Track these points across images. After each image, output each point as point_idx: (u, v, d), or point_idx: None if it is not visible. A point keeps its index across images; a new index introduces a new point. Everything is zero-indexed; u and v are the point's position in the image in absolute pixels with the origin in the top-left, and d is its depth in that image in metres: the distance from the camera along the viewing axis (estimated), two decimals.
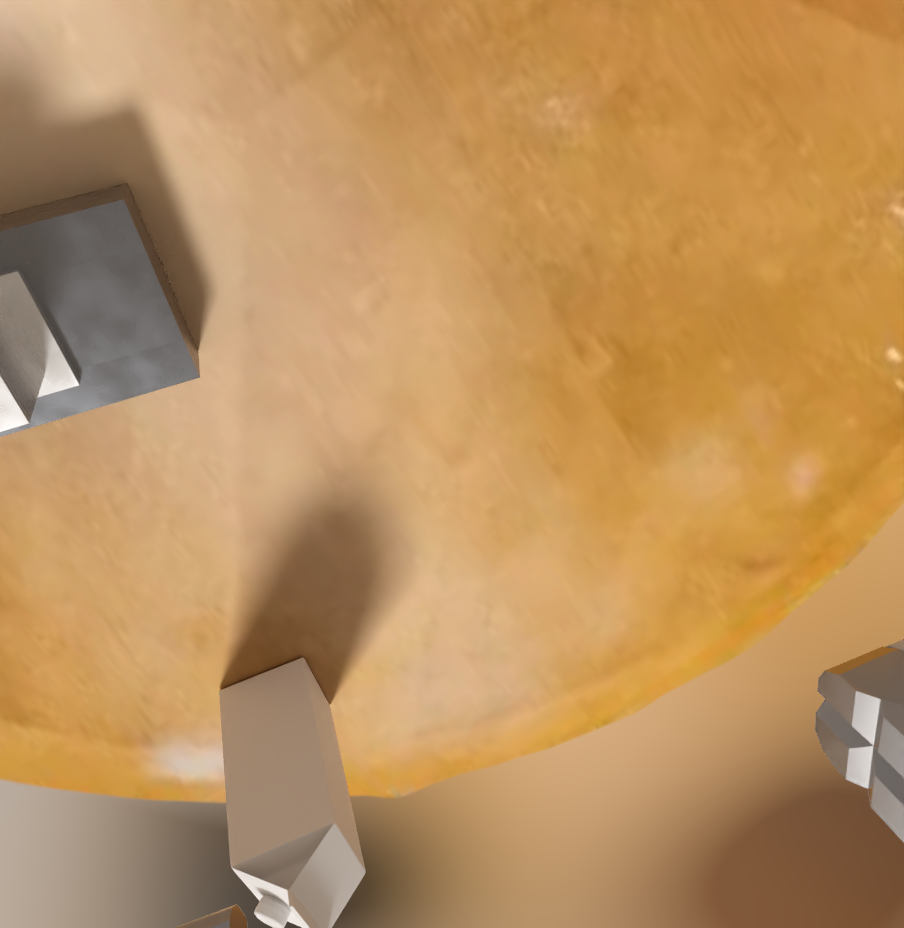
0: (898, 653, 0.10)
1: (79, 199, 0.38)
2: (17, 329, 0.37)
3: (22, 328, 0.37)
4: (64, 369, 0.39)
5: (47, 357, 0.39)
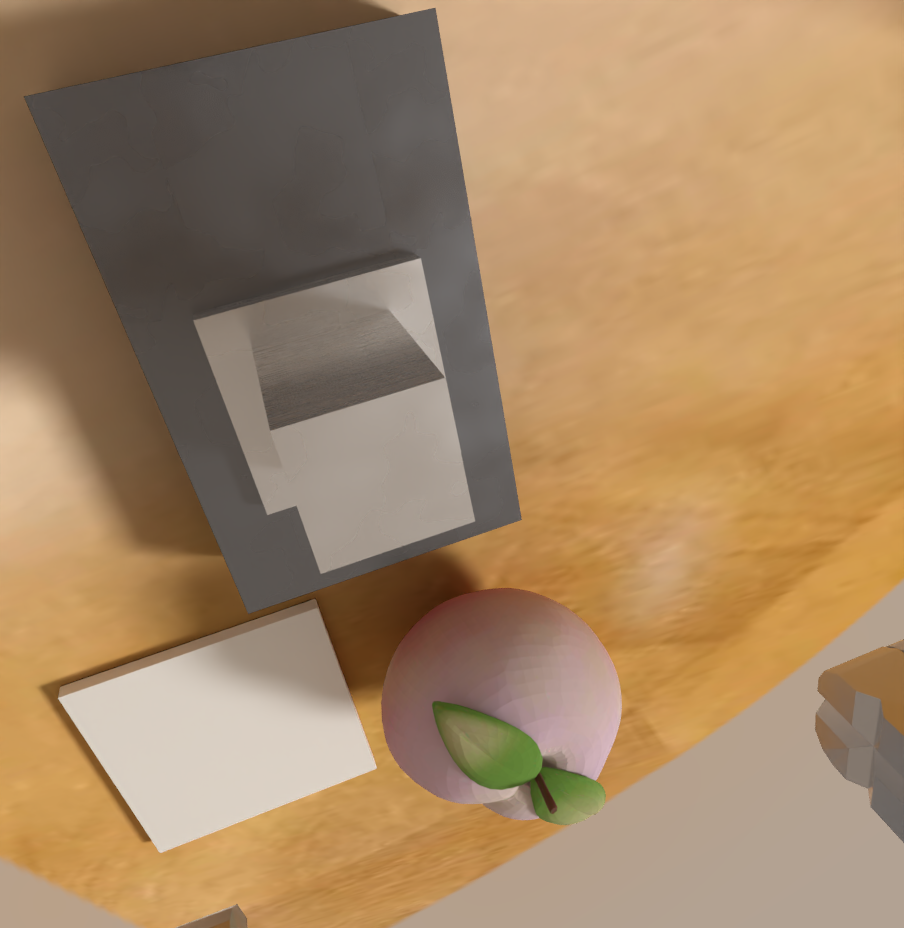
0: (898, 652, 0.10)
1: None
2: (300, 342, 0.20)
3: (303, 331, 0.21)
4: (387, 278, 0.21)
5: (361, 301, 0.21)
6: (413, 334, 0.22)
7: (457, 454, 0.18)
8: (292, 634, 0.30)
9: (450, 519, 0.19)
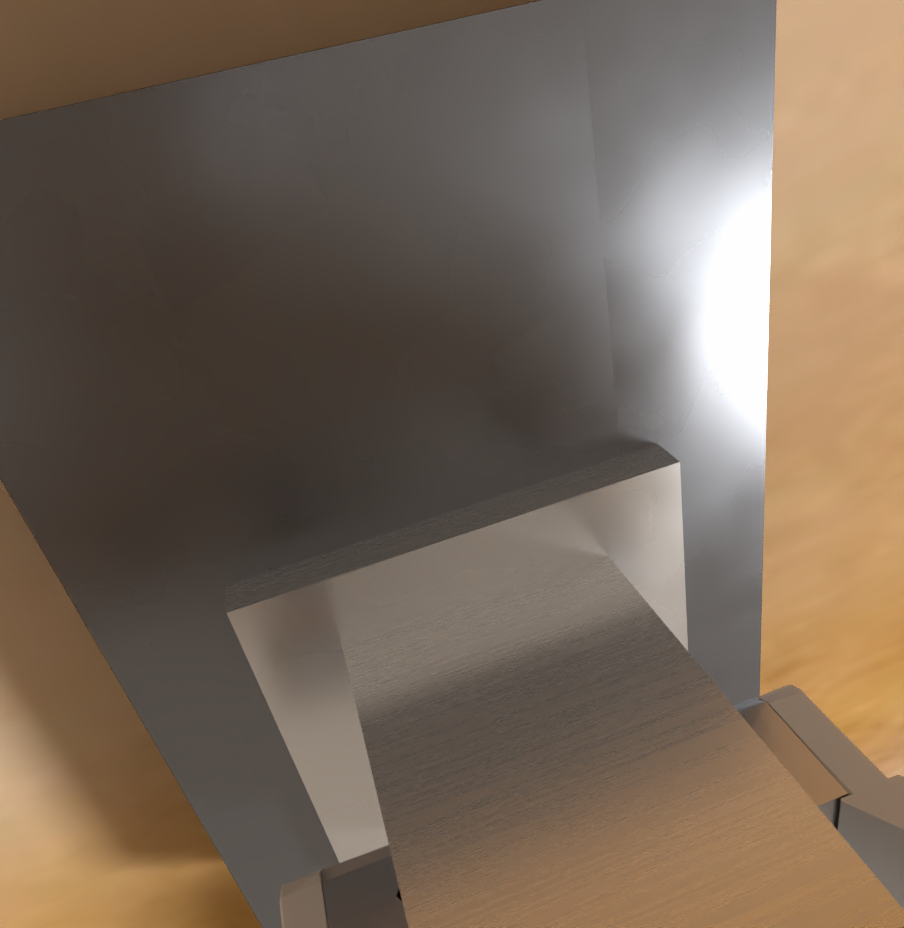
0: (764, 705, 0.10)
1: None
2: (443, 644, 0.10)
3: (445, 609, 0.10)
4: (612, 502, 0.10)
5: (559, 547, 0.11)
6: (645, 592, 0.11)
7: None
8: None
9: None
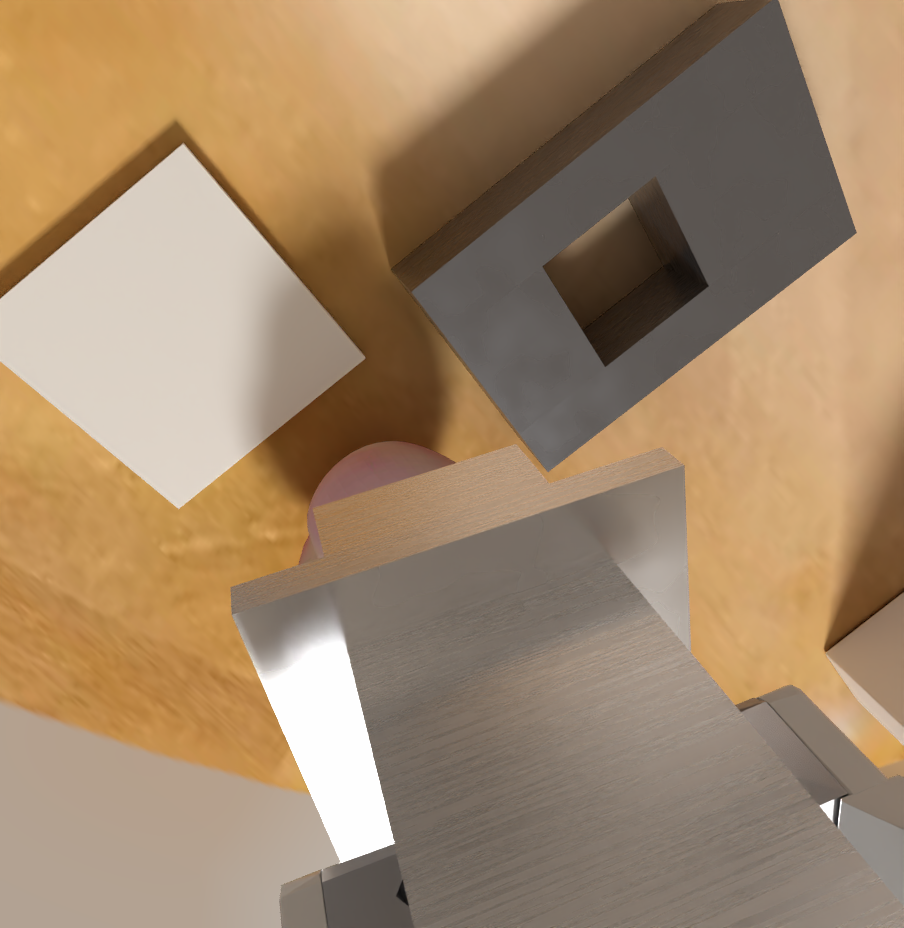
0: (764, 705, 0.10)
1: (682, 43, 0.28)
2: (448, 646, 0.10)
3: (449, 611, 0.10)
4: (616, 505, 0.10)
5: (563, 550, 0.11)
6: (648, 595, 0.11)
7: None
8: (329, 347, 0.30)
9: None
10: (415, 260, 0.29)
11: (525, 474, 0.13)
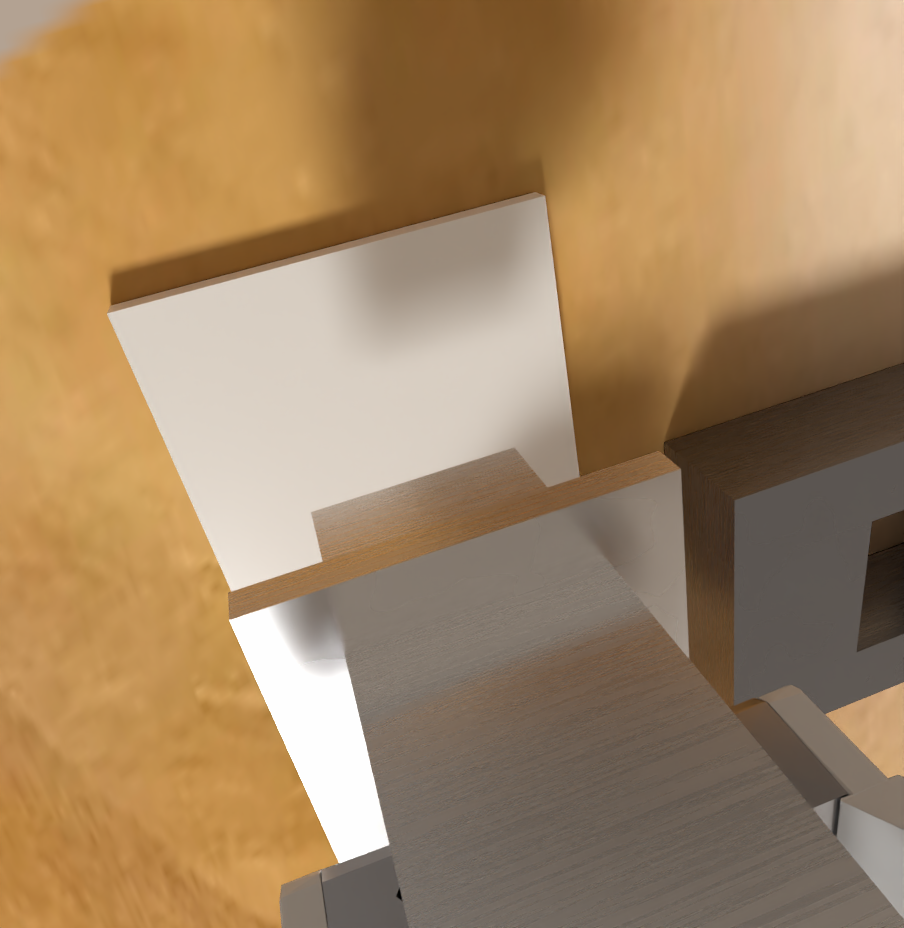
0: (764, 705, 0.10)
1: None
2: (446, 650, 0.10)
3: (446, 615, 0.10)
4: (613, 509, 0.10)
5: (560, 554, 0.11)
6: (646, 598, 0.11)
7: None
8: None
9: None
10: (712, 449, 0.22)
11: (523, 477, 0.13)
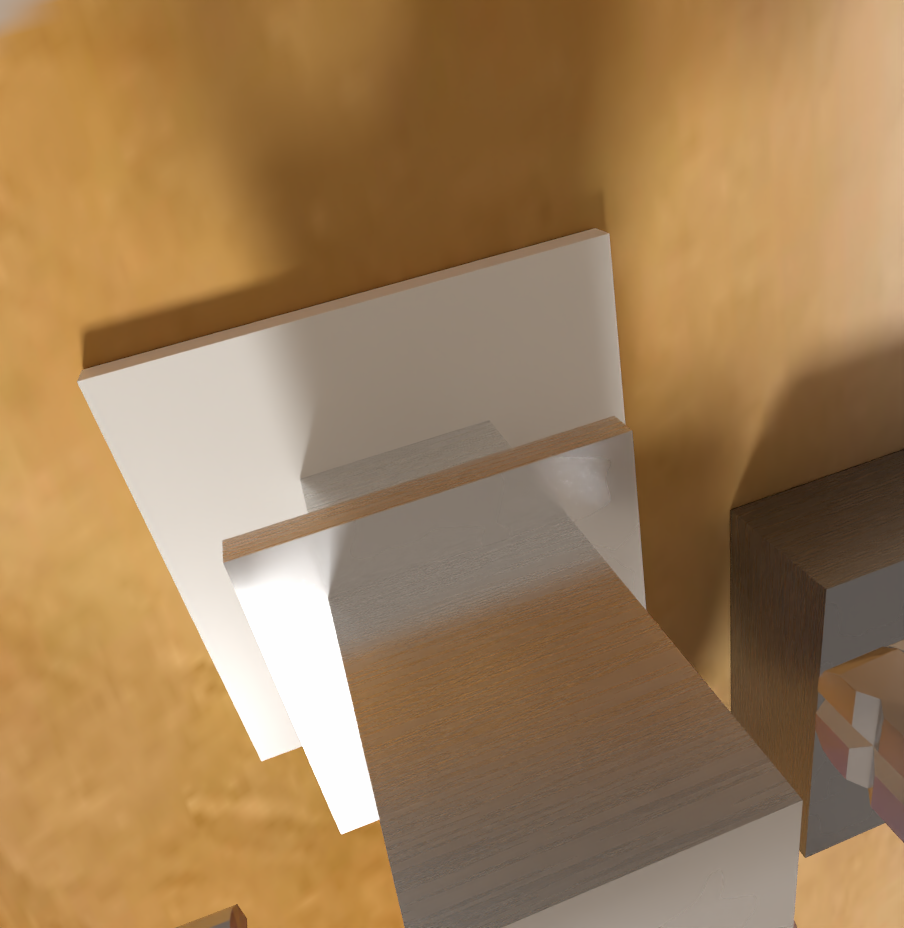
0: (898, 653, 0.10)
1: None
2: (418, 592, 0.11)
3: (420, 563, 0.12)
4: (571, 466, 0.12)
5: (523, 508, 0.12)
6: (604, 551, 0.13)
7: (787, 915, 0.08)
8: None
9: None
10: (790, 520, 0.19)
11: (496, 446, 0.14)
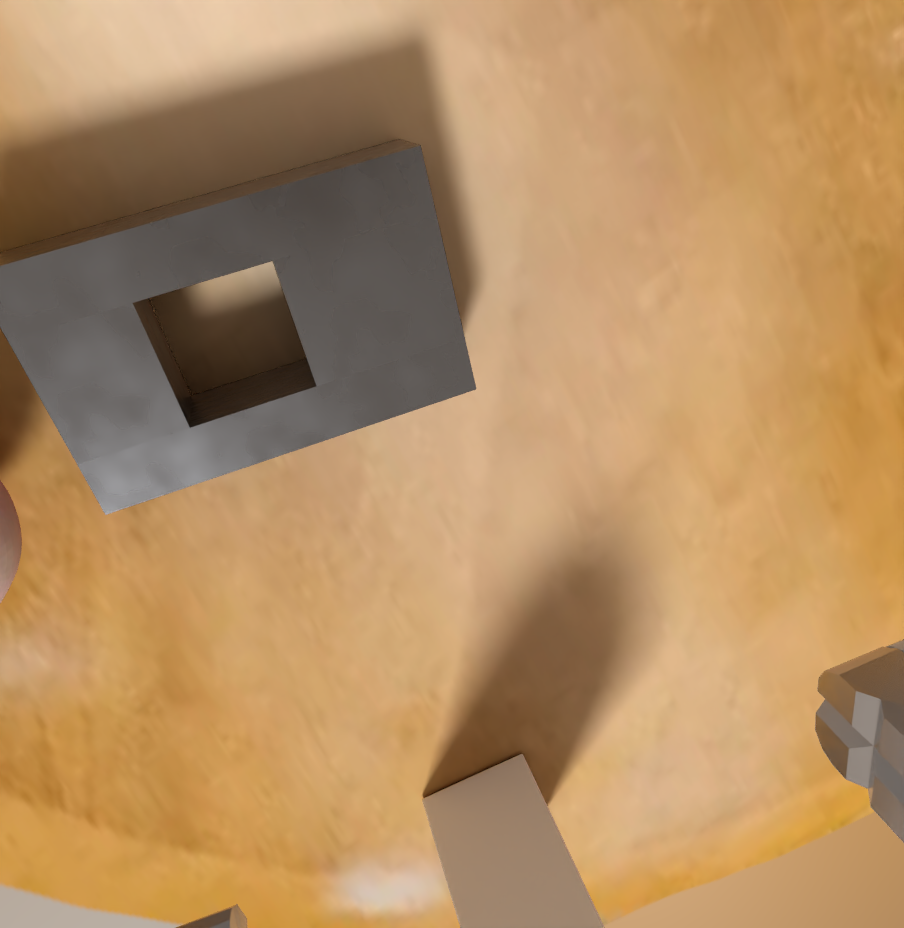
0: (897, 653, 0.10)
1: (347, 156, 0.29)
2: None
3: None
4: None
5: None
6: None
7: None
8: None
9: None
10: (14, 252, 0.27)
11: None
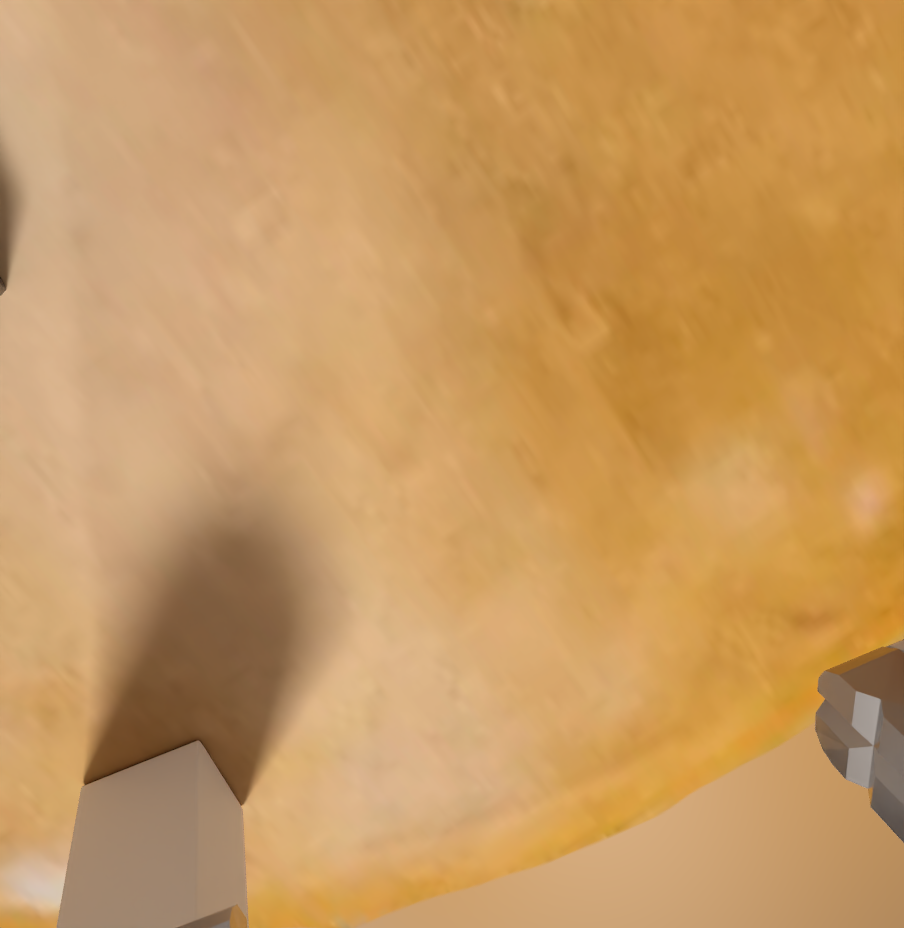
0: (898, 653, 0.10)
1: None
2: None
3: None
4: None
5: None
6: None
7: None
8: None
9: None
10: None
11: None
